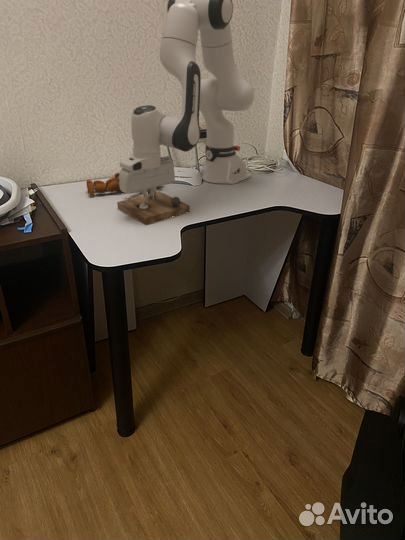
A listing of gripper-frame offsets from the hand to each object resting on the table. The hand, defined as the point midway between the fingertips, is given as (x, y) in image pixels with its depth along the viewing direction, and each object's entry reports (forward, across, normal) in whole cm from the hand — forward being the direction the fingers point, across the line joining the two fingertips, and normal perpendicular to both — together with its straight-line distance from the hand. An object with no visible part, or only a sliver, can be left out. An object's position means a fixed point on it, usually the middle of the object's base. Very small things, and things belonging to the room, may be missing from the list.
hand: (149, 200), depth 136 cm
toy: (+5, -5, -24) cm, 25 cm away
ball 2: (0, -6, +6) cm, 9 cm away
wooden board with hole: (+4, -2, 0) cm, 4 cm away
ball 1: (0, -6, -6) cm, 9 cm away
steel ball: (+2, +2, 0) cm, 3 cm away
